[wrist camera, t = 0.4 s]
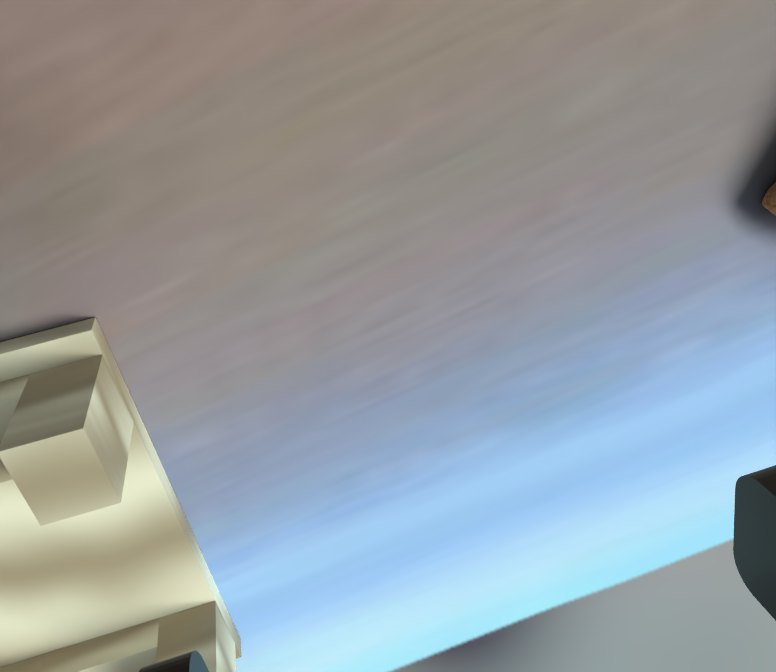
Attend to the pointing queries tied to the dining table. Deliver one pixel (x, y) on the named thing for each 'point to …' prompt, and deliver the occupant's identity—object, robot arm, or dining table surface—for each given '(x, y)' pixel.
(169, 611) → the rack
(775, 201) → the ceramic shard
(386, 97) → the dining table surface
